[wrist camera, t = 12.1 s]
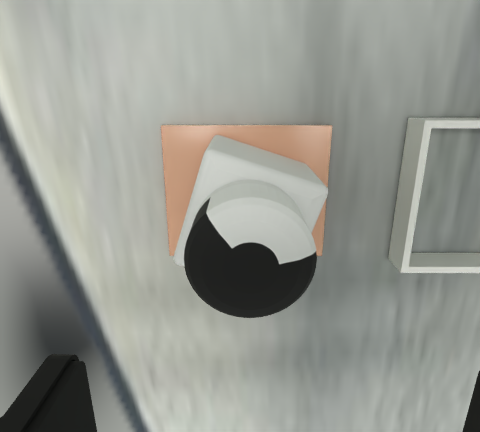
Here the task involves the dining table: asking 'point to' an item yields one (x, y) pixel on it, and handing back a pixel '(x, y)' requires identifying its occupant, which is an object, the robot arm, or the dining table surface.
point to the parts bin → (409, 204)
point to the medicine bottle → (250, 229)
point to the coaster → (261, 136)
